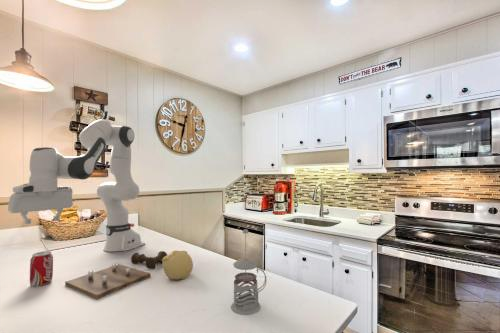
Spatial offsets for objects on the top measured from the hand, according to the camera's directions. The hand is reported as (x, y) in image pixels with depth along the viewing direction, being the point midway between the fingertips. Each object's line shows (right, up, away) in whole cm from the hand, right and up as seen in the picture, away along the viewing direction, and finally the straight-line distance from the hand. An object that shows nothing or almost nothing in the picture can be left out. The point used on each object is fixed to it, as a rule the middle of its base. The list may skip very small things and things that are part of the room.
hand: (42, 221), depth 100 cm
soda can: (0, -25, -1) cm, 25 cm away
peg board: (+26, -24, +2) cm, 36 cm away
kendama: (+35, -26, +20) cm, 48 cm away
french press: (+82, -24, -18) cm, 88 cm away
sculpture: (+52, -25, +6) cm, 58 cm away
